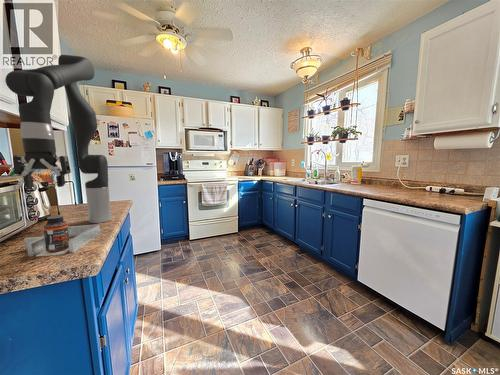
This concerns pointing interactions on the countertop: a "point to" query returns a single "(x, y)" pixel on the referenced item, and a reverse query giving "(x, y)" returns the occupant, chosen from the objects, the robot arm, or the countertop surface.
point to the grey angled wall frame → (80, 239)
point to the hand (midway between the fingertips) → (45, 187)
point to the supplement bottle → (56, 234)
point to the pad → (52, 253)
